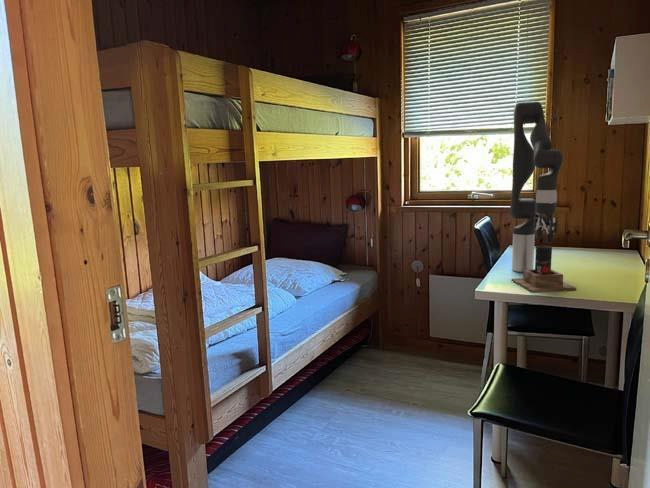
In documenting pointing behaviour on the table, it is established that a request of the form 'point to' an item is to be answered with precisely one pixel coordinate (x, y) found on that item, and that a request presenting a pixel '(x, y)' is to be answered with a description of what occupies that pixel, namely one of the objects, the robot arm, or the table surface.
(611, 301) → the table surface
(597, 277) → the table surface
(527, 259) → the robot arm
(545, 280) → the well holder
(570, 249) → the table surface
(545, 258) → the deodorant
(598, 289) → the table surface
